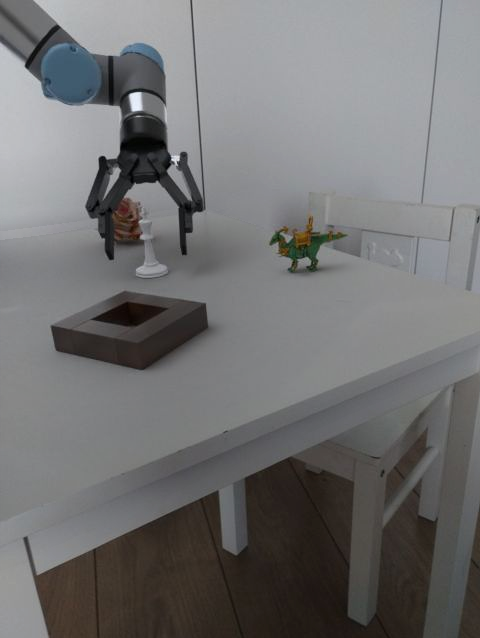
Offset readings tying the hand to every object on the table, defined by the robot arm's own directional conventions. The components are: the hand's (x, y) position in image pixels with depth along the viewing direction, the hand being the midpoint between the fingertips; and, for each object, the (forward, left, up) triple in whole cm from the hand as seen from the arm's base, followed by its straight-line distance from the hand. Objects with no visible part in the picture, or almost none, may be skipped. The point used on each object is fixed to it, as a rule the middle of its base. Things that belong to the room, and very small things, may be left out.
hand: (146, 253), depth 83 cm
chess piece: (-2, +3, -4) cm, 5 cm away
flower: (-20, +18, -4) cm, 27 cm away
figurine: (+20, +13, -4) cm, 24 cm away
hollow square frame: (+12, -18, -4) cm, 23 cm away
